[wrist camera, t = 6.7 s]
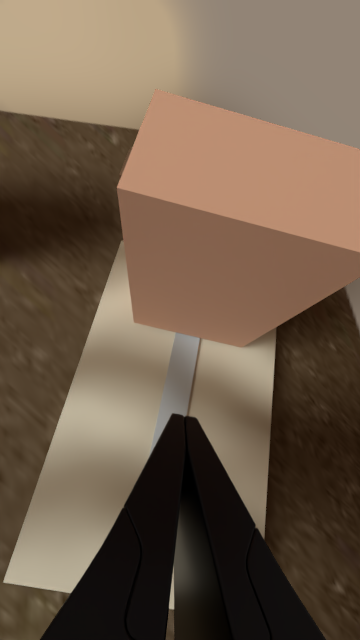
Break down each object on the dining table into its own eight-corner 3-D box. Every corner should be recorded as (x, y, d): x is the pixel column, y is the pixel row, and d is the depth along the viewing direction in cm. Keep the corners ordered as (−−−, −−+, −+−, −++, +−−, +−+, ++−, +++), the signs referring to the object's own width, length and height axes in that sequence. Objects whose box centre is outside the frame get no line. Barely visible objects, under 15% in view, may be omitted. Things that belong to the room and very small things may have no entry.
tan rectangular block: (241, 347, 16) (388, 260, 6) (133, 322, 15) (116, 187, 6) (247, 292, 17) (374, 153, 8) (149, 268, 16) (155, 89, 7)
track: (246, 599, 13) (408, 905, 5) (19, 561, 12) (-213, 852, 4) (269, 289, 20) (354, 210, 12) (123, 252, 19) (108, 141, 11)
